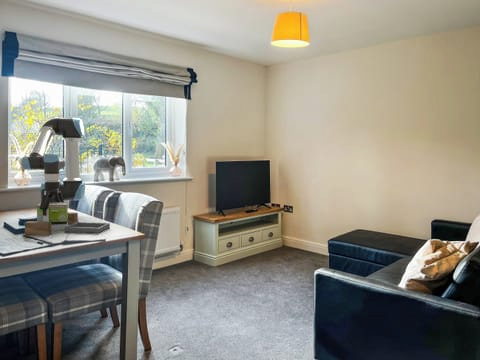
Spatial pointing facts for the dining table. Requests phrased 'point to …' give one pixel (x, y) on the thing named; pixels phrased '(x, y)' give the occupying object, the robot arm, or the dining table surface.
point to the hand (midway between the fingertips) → (52, 219)
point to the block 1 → (38, 228)
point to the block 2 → (72, 218)
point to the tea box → (55, 215)
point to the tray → (87, 227)
